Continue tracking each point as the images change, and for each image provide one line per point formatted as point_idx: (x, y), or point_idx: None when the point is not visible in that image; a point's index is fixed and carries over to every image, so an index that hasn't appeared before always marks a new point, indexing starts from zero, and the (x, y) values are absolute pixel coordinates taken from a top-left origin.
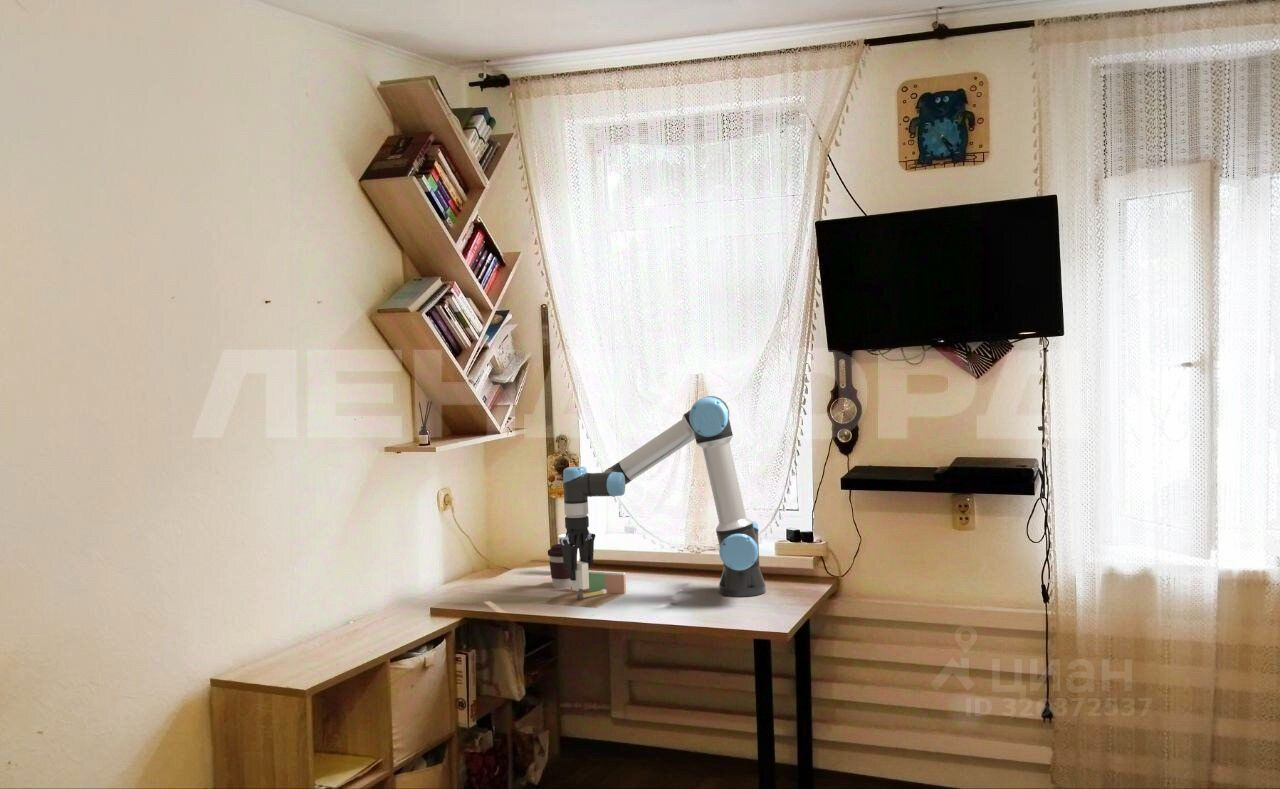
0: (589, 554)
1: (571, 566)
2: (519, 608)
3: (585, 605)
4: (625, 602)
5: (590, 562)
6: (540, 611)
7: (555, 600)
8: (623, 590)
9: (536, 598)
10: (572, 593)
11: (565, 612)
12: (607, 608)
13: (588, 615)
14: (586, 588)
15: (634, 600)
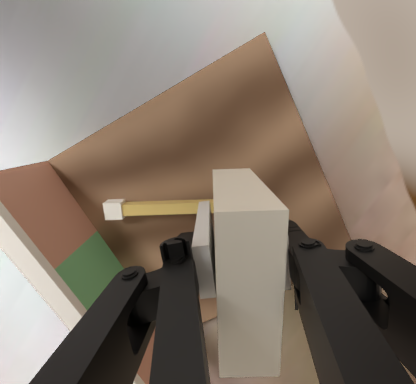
0: (113, 347)
1: (355, 252)
2: None
3: (269, 104)
4: (91, 86)
5: (140, 277)
6: (388, 202)
7: None
8: (41, 166)
9: (282, 347)
10: None
11: (345, 122)
12: (197, 52)
13: (321, 3)
14: (228, 169)
15: (47, 88)
